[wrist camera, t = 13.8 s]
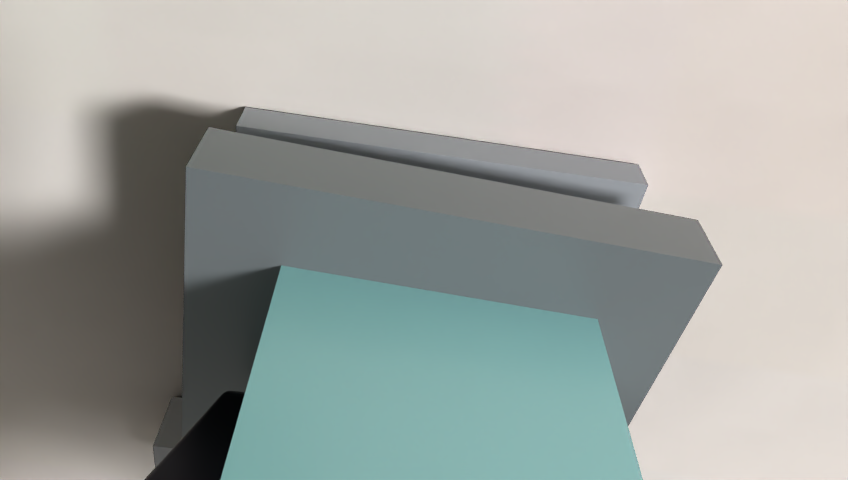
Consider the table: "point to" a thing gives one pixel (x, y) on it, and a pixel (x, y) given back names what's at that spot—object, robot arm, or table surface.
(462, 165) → the pad
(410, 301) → the plug
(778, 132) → the table surface
